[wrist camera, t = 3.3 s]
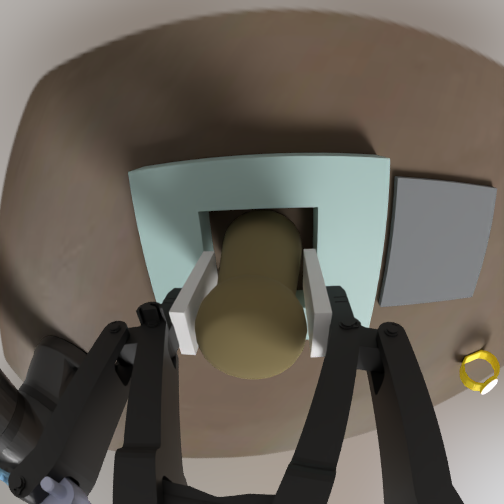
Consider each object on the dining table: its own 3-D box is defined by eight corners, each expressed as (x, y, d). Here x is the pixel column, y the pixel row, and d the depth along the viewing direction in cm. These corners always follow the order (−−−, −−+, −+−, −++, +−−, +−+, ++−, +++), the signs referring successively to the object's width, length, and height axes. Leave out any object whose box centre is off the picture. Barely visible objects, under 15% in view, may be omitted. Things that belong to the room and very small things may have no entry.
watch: (488, 341, 24) (509, 369, 18) (482, 355, 25) (501, 383, 19) (457, 356, 24) (477, 389, 19) (451, 370, 25) (470, 402, 20)
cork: (229, 202, 19) (178, 281, 10) (311, 219, 19) (341, 314, 10) (218, 273, 22) (176, 380, 12) (291, 288, 22) (295, 403, 12)
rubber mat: (378, 303, 22) (380, 306, 21) (394, 176, 17) (397, 177, 17) (469, 293, 21) (472, 296, 20) (493, 186, 16) (496, 188, 16)
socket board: (175, 318, 25) (167, 335, 22) (144, 166, 19) (127, 172, 17) (360, 317, 23) (366, 335, 20) (376, 154, 17) (390, 158, 15)
